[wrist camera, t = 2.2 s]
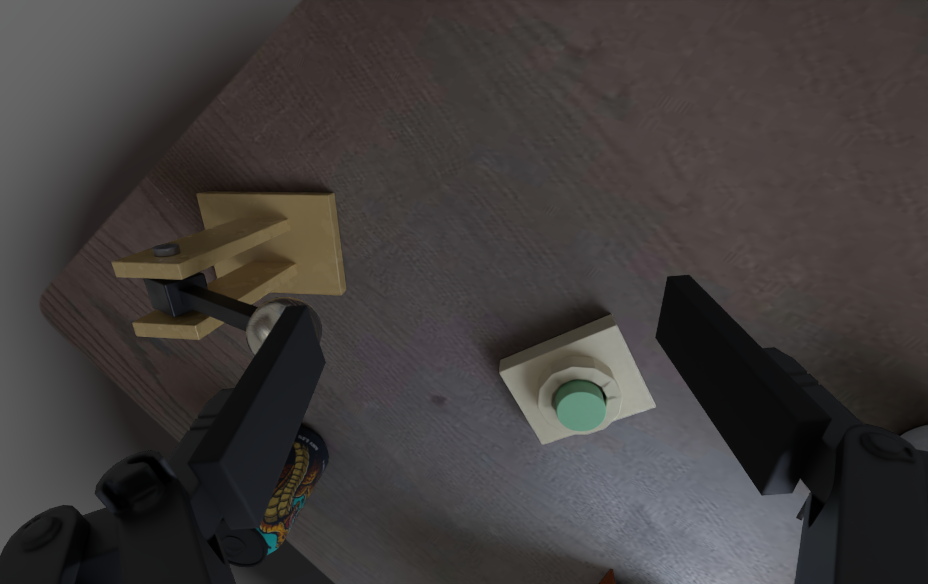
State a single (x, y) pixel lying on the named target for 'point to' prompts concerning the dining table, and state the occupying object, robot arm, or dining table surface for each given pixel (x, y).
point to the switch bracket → (246, 254)
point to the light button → (580, 405)
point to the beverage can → (279, 503)
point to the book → (608, 578)
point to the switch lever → (222, 307)
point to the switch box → (576, 376)
